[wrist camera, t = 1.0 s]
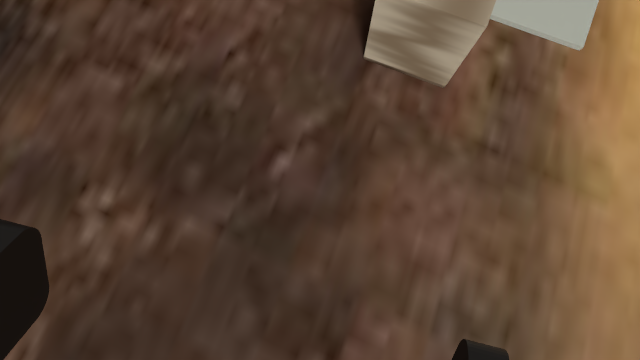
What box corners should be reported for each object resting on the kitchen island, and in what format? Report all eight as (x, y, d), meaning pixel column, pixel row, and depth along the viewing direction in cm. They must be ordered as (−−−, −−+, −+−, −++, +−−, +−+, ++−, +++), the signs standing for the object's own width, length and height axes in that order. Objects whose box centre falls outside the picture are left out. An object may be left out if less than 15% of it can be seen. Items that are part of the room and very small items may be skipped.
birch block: (363, 58, 39) (377, -12, 29) (382, 8, 39) (403, -78, 29) (443, 88, 38) (486, 26, 28) (462, 37, 39) (510, -41, 29)
